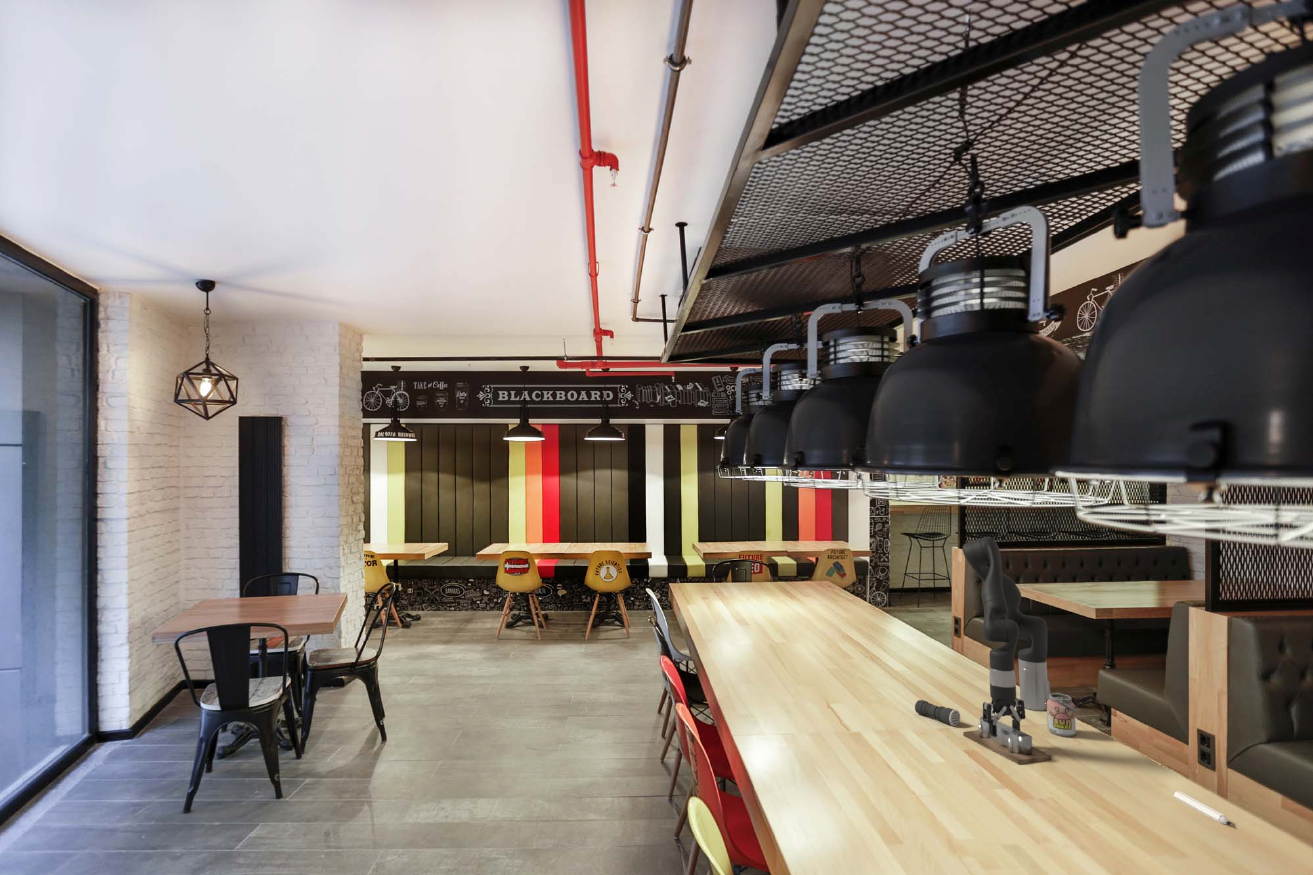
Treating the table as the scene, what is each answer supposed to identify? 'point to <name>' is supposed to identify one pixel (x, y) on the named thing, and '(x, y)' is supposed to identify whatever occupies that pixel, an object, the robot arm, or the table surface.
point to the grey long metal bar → (1004, 732)
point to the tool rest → (1006, 748)
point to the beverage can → (1061, 715)
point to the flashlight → (938, 712)
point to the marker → (1201, 808)
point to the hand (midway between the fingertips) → (1004, 734)
